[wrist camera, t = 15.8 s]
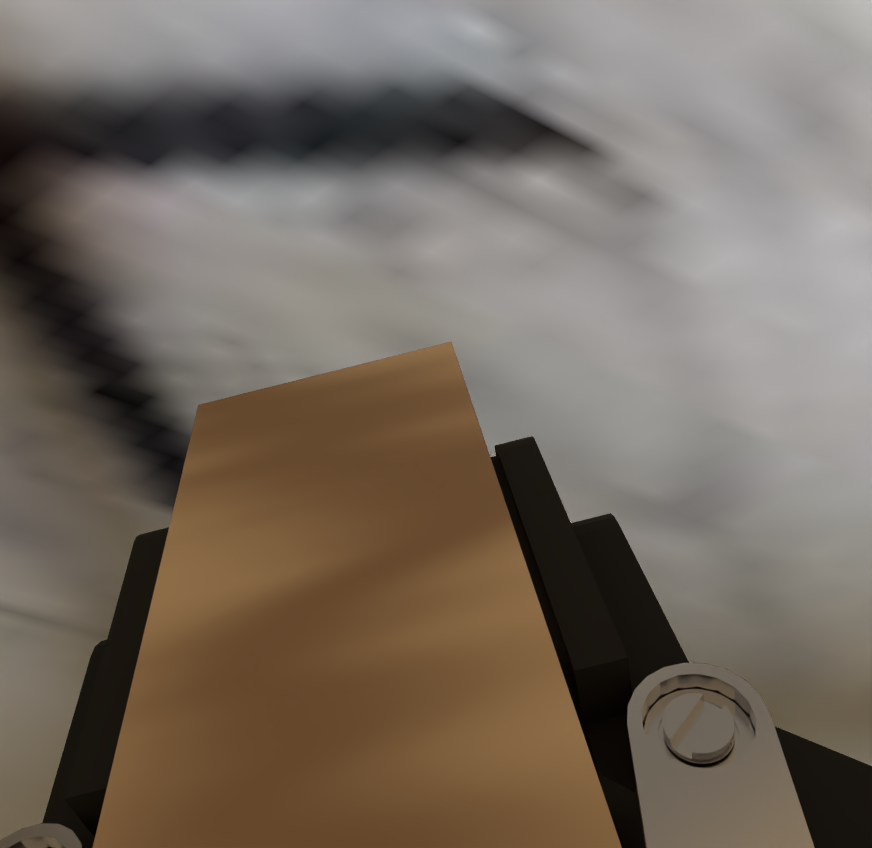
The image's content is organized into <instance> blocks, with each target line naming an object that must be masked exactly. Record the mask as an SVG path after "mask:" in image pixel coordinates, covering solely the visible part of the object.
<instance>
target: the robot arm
mask: <svg viewBox="0 0 872 848" xmlns="http://www.w3.org/2000/svg"><path fill="white" fill-rule="evenodd" d="M495 452H496V456H494V457H490V458H491V461H492V464H493V467H494V470H495V473H496V476H497V479H498V482H499V485H500V488H501V491H502V494H503V497H504V500H505V503H506V506H507V508H508V511H509V514H510V517H511V520H512V523H513V526H514V529H515V532H516V535H517V538H518V541H519V544H520V547H521V550H522V553H523V556H524V559H525V562H526V565H527V568H528V571H529V574H530V577H531V580H532V583H533V586H534V589H535V592H536V595H537V598H538V601H539V603H540V606H541V609H542V612H543V615H544V618H545V621H546V624H547V627H548V630H549V633H550V636H551V639H552V642H553V645H554V648H555V651H556V654H557V657H558V660H559V663H560V666H561V669H562V672H563V675H564V678H565V681H566V684H567V687H568V690H569V693H570V696H571V699H572V701H573V704H574V707H575V710H576V713H577V716H578V719H579V722H580V725H581V728H582V731H583V734H584V737H585V740H586V743H587V746H588V749H589V752H590V755H591V758H592V761H593V764H594V767H595V770H596V773H597V776H598V779H599V782H600V785H601V788H602V791H603V794H604V797H605V799H606V802H607V805H608V808H609V811H610V814H611V817H612V820H613V823H614V826H615V829H616V832H617V835H618V838H619V841H620V844H621V847H622V848H872V766H870V765H867V764H865V763H862V762H860V761H857V760H855V759H853V758H850V757H848V756H845V755H843V754H840V753H838V752H836V751H833V750H831V749H828V748H826V747H823V746H821V745H819V744H816V743H814V742H811V741H809V740H806V739H804V738H801V737H799V736H797V735H794V734H792V733H789V732H787V731H784V730H782V729H780V728H777V727H775V726H774V723H773V720H772V717H771V714H770V712H769V710H768V708H767V706H766V704H765V703H764V701H763V699H762V697H761V695H760V694H759V693H758V692H757V691H756V690H755V689H754V688H753V687H752V686H751V685H750V684H749V683H748V682H747V681H746V680H744V679H743V678H741V677H739V676H737V675H736V674H734V673H732V672H730V671H728V670H727V669H723V668H720V667H716V666H713V665H709V664H706V663H689V662H688V660H687V658H686V656H685V654H684V652H683V650H682V648H681V646H680V644H679V642H678V640H677V638H676V636H675V634H674V632H673V630H672V628H671V626H670V624H669V622H668V620H667V618H666V616H665V615H664V613H663V611H662V609H661V607H660V605H659V603H658V601H657V599H656V597H655V595H654V593H653V591H652V589H651V587H650V585H649V583H648V581H647V579H646V577H645V575H644V573H643V571H642V569H641V567H640V565H639V563H638V561H637V559H636V557H635V555H634V553H633V551H632V549H631V547H630V545H629V543H628V541H627V540H626V538H625V536H624V534H623V532H622V530H621V528H620V526H619V524H618V522H617V520H616V519H615V517H614V516H613V515H612V514H611V513H610V514H606V515H602V516H598V517H594V518H590V519H586V520H582V521H578V522H574V523H570V521H569V518H568V516H567V514H566V511H565V509H564V507H563V504H562V502H561V500H560V497H559V495H558V493H557V490H556V488H555V486H554V483H553V481H552V479H551V476H550V474H549V472H548V469H547V467H546V465H545V462H544V460H543V458H542V455H541V453H540V451H539V448H538V446H537V444H536V441H535V439H534V437H532V436H531V437H527V438H523V439H519V440H515V441H512V442H508V443H504V444H500V445H496V446H495ZM168 530H169V528H165V529H161V530H157V531H153V532H149V533H145V534H141V535H139V536H137V537H136V539H135V541H134V544H133V548H132V552H131V555H130V559H129V563H128V566H127V570H126V574H125V577H124V581H123V584H122V588H121V592H120V595H119V599H118V603H117V606H116V610H115V614H114V617H113V621H112V625H111V628H110V632H109V635H108V639H107V640H104V641H101V642H100V643H99V644H97V645H96V646H95V648H94V650H93V653H92V655H91V658H90V661H89V664H88V668H87V671H86V675H85V678H84V682H83V685H82V689H81V692H80V695H79V699H78V702H77V706H76V709H75V713H74V716H73V720H72V723H71V726H70V730H69V733H68V737H67V740H66V744H65V747H64V751H63V754H62V757H61V761H60V764H59V768H58V771H57V775H56V778H55V782H54V785H53V788H52V792H51V795H50V799H49V802H48V806H47V809H46V813H45V816H44V819H43V823H41V824H37V825H34V826H30V827H27V828H23V829H21V830H19V831H17V832H15V833H13V834H11V835H9V836H8V837H6V838H4V839H2V840H1V841H0V848H93V844H94V840H95V836H96V831H97V827H98V823H99V819H100V815H101V810H102V806H103V802H104V798H105V794H106V790H107V785H108V781H109V777H110V773H111V769H112V764H113V760H114V756H115V752H116V748H117V744H118V739H119V735H120V731H121V727H122V723H123V718H124V714H125V710H126V706H127V702H128V698H129V693H130V689H131V685H132V681H133V677H134V672H135V668H136V664H137V660H138V656H139V652H140V647H141V643H142V639H143V635H144V631H145V626H146V622H147V618H148V614H149V610H150V606H151V601H152V597H153V593H154V589H155V585H156V581H157V576H158V572H159V568H160V564H161V560H162V555H163V551H164V547H165V543H166V539H167V535H168Z"/></svg>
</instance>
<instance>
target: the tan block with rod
mask: <svg viewBox="0 0 872 848" xmlns="http://www.w3.org/2000/svg"><path fill="white" fill-rule="evenodd" d="M93 848H622V847H621V844H620V841H619V838H618V835H617V832H616V829H615V826H614V823H613V820H612V817H611V814H610V811H609V808H608V805H607V802H606V799H605V797H604V794H603V791H602V788H601V785H600V782H599V779H598V776H597V773H596V770H595V767H594V764H593V761H592V758H591V755H590V752H589V749H588V746H587V743H586V740H585V737H584V734H583V731H582V728H581V725H580V722H579V719H578V716H577V713H576V710H575V707H574V704H573V701H572V699H571V696H570V693H569V690H568V687H567V684H566V681H565V678H564V675H563V672H562V669H561V666H560V663H559V660H558V657H557V654H556V651H555V648H554V645H553V642H552V639H551V636H550V633H549V630H548V627H547V624H546V621H545V618H544V615H543V612H542V609H541V606H540V603H539V601H538V598H537V595H536V592H535V589H534V586H533V583H532V580H531V577H530V574H529V571H528V568H527V565H526V562H525V559H524V556H523V553H522V550H521V547H520V544H519V541H518V538H517V535H516V532H515V529H514V526H513V523H512V520H511V517H510V514H509V511H508V508H507V506H506V503H505V500H504V497H503V494H502V491H501V488H500V485H499V482H498V479H497V476H496V473H495V470H494V467H493V464H492V461H491V458H490V455H489V452H488V449H487V446H486V443H485V440H484V437H483V434H482V431H481V428H480V425H479V422H478V419H477V416H476V413H475V410H474V408H473V405H472V402H471V399H470V396H469V393H468V390H467V387H466V384H465V381H464V378H463V375H462V372H461V369H460V366H459V363H458V360H457V357H456V354H455V351H454V348H453V345H452V342H448V343H444V344H440V345H436V346H432V347H428V348H424V349H420V350H416V351H412V352H408V353H404V354H400V355H396V356H392V357H388V358H384V359H380V360H376V361H372V362H368V363H364V364H360V365H356V366H352V367H348V368H344V369H340V370H336V371H332V372H328V373H324V374H320V375H316V376H312V377H308V378H304V379H300V380H296V381H292V382H288V383H284V384H280V385H276V386H272V387H268V388H264V389H260V390H256V391H252V392H248V393H244V394H240V395H236V396H233V397H229V398H225V399H221V400H217V401H213V402H209V403H205V404H201V405H198V409H197V413H196V417H195V422H194V426H193V430H192V434H191V438H190V443H189V447H188V451H187V455H186V459H185V463H184V468H183V472H182V476H181V480H180V484H179V489H178V493H177V497H176V501H175V505H174V509H173V514H172V518H171V522H170V526H169V530H168V535H167V539H166V543H165V547H164V551H163V555H162V560H161V564H160V568H159V572H158V576H157V581H156V585H155V589H154V593H153V597H152V601H151V606H150V610H149V614H148V618H147V622H146V626H145V631H144V635H143V639H142V643H141V647H140V652H139V656H138V660H137V664H136V668H135V672H134V677H133V681H132V685H131V689H130V693H129V698H128V702H127V706H126V710H125V714H124V718H123V723H122V727H121V731H120V735H119V739H118V744H117V748H116V752H115V756H114V760H113V764H112V769H111V773H110V777H109V781H108V785H107V790H106V794H105V798H104V802H103V806H102V810H101V815H100V819H99V823H98V827H97V831H96V836H95V840H94V844H93Z"/></svg>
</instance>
